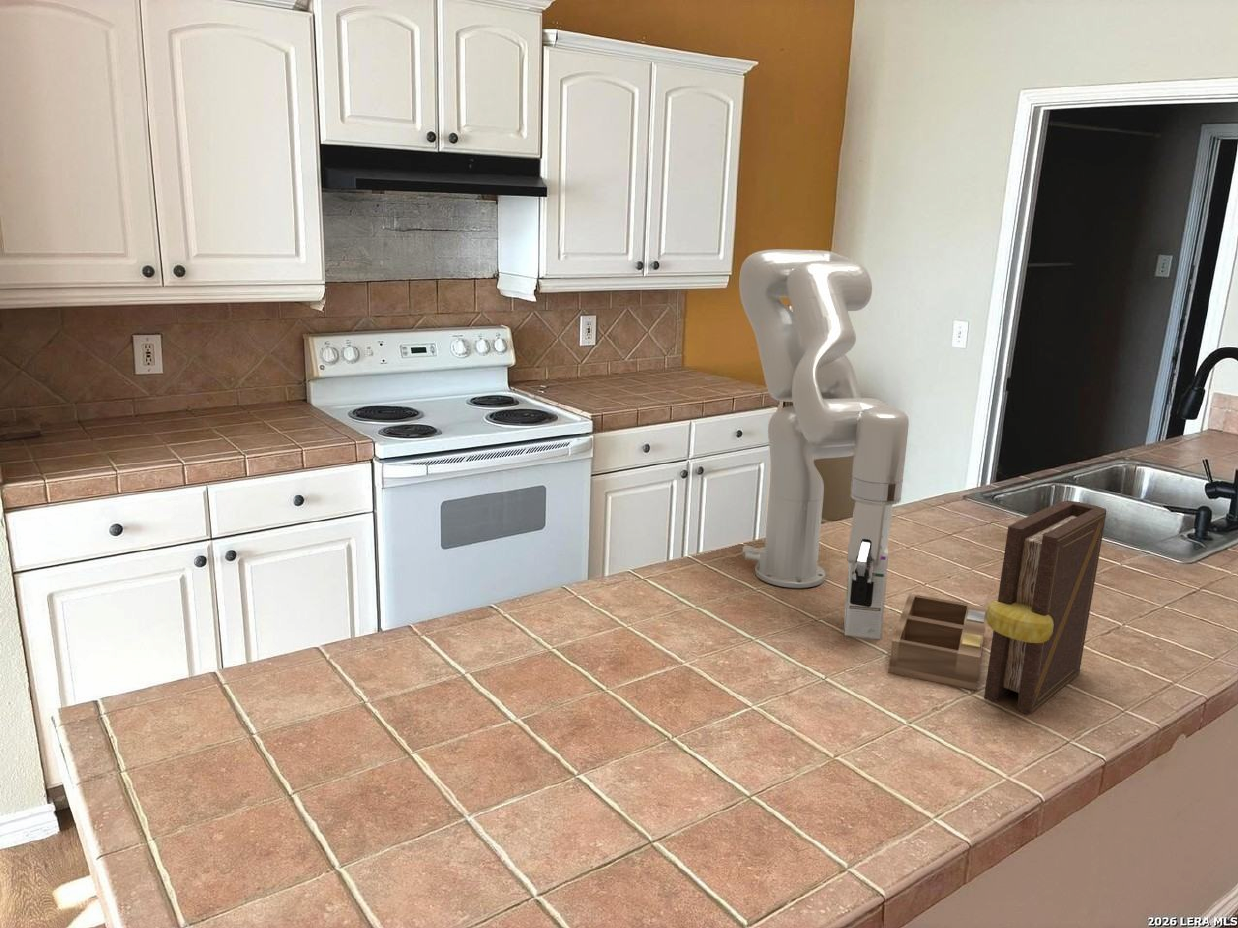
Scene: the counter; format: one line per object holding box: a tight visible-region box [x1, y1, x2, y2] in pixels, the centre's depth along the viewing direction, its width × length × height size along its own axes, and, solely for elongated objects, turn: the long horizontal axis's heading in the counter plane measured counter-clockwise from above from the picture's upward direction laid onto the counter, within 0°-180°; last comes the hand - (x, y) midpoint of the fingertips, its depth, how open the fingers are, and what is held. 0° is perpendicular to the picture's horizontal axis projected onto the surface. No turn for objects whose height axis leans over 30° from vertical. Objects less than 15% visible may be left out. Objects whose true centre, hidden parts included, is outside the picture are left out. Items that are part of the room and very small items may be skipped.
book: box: [983, 500, 1107, 716], centre depth 131 cm, size 22×8×25 cm, turn 135°
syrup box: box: [843, 545, 889, 640], centre depth 150 cm, size 6×6×14 cm
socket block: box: [888, 593, 989, 691], centre depth 143 cm, size 20×12×5 cm, turn 157°
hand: (865, 594), depth 150 cm, fingers open, 8 cm apart
